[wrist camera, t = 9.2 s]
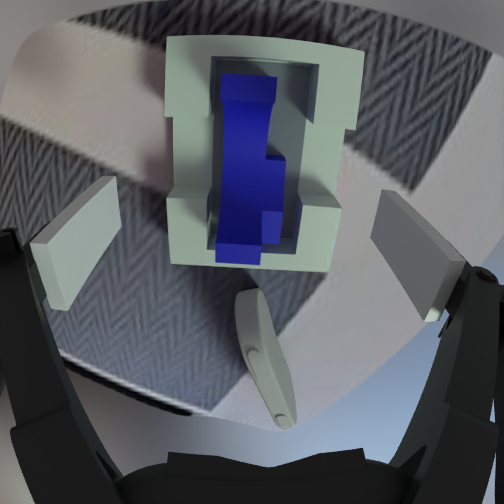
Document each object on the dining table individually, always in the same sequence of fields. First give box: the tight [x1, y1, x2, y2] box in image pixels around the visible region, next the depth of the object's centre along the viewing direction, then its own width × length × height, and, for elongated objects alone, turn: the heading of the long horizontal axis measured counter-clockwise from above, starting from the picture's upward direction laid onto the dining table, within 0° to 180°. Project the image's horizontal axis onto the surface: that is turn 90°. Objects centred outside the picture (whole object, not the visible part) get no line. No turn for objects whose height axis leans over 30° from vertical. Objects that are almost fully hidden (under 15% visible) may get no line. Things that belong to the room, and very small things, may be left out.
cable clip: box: [215, 74, 286, 265], centre depth 21 cm, size 12×4×6 cm, turn 176°
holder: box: [165, 35, 365, 272], centre depth 23 cm, size 13×18×4 cm
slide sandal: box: [235, 288, 297, 429], centre depth 32 cm, size 20×2×8 cm, turn 15°
